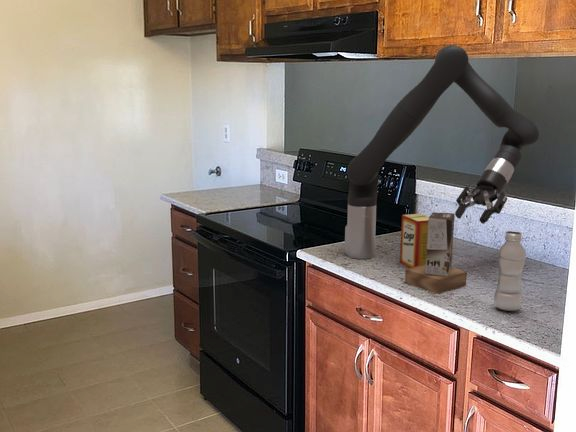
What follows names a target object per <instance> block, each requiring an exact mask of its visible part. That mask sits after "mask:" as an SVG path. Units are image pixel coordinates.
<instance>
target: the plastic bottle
mask: <svg viewBox="0 0 576 432" xmlns="http://www.w3.org/2000/svg"><path fill="white" fill-rule="evenodd" d="M522 240H523V238H522V232H520V231H516V230H515V231H514V230H513V231H512V230H507V231H506V232H505V237H504V241H505V242H504V243H503V244H502V245H501V246H500V247H499V249H498V251H497V252H498V253H497V255H498V256H497V257H498V279H497V285H496V289H495V291H494V295H493V302H494V303H493V304H494V305H495V307H496V308H497V309H499V310H502V311H507V312H508V311H509V312H516V311H517V310H519V309H520V308H521V307H522V306H521V305H522V303H523V300H522V298H523V296H522V275H523V270H524V267H525V262H526V258H527V252H526V249H525V248H524V246H523V245H522V243H521V242H522Z"/></svg>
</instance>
